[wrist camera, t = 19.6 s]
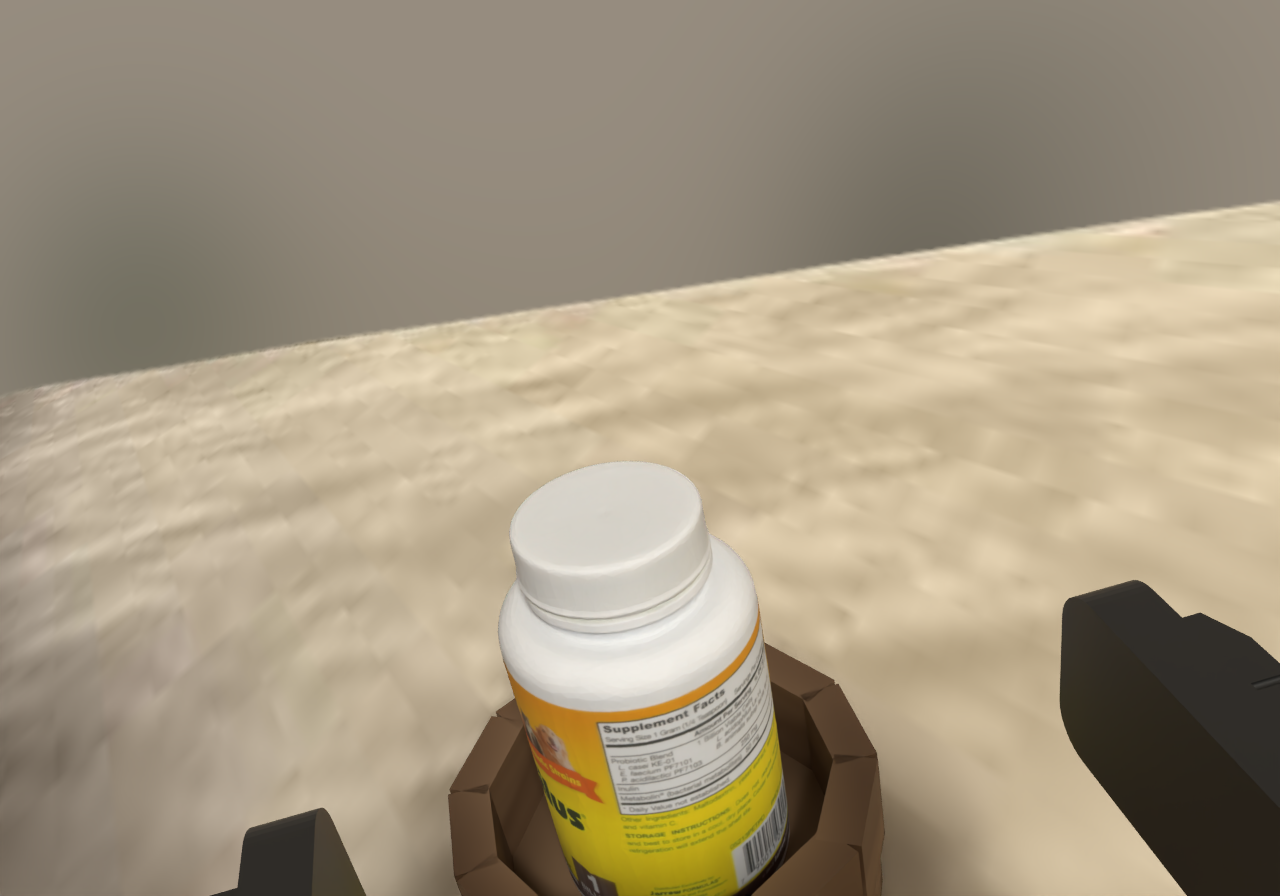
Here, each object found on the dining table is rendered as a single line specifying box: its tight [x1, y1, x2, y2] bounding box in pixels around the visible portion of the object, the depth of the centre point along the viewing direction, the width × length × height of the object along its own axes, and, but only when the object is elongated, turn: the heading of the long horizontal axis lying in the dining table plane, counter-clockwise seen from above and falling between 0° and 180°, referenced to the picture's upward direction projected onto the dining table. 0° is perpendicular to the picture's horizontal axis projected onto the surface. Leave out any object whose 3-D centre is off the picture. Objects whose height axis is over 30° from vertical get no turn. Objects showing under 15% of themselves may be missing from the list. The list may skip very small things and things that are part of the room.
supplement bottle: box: [498, 461, 790, 896], centre depth 25 cm, size 6×6×10 cm
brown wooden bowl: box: [448, 643, 885, 896], centre depth 27 cm, size 10×10×4 cm
